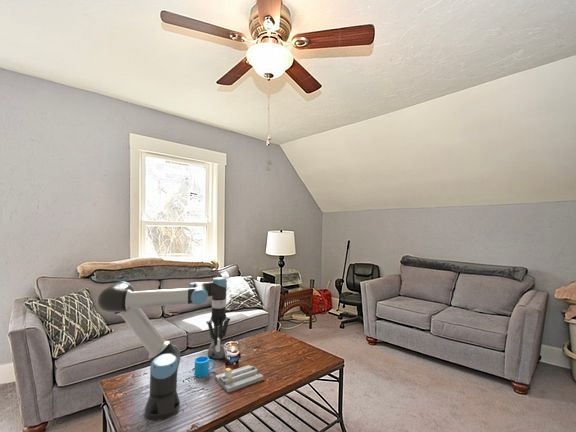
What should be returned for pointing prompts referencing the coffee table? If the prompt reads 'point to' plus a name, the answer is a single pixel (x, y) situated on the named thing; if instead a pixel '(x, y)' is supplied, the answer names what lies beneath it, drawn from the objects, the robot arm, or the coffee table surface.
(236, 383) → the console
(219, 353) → the mineral rock
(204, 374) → the mug
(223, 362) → the coffee table surface
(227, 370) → the fader tab
